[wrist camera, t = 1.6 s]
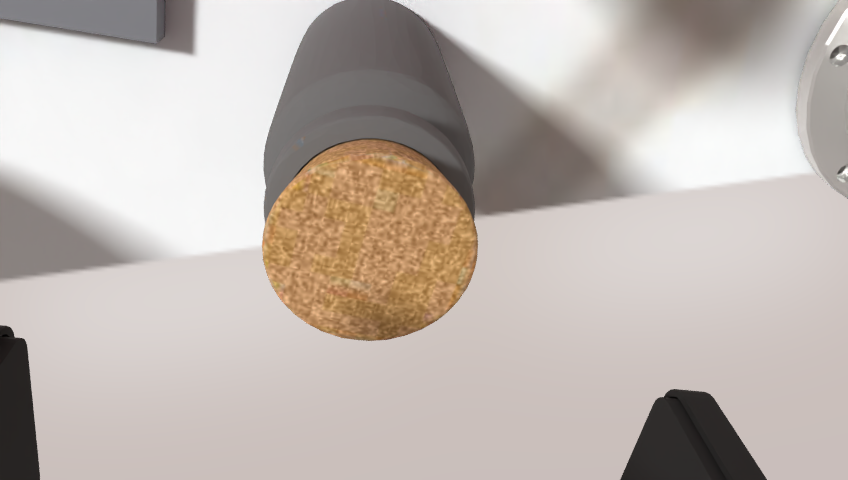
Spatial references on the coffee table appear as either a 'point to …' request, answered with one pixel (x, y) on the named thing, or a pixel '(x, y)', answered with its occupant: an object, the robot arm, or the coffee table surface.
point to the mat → (93, 16)
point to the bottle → (369, 177)
